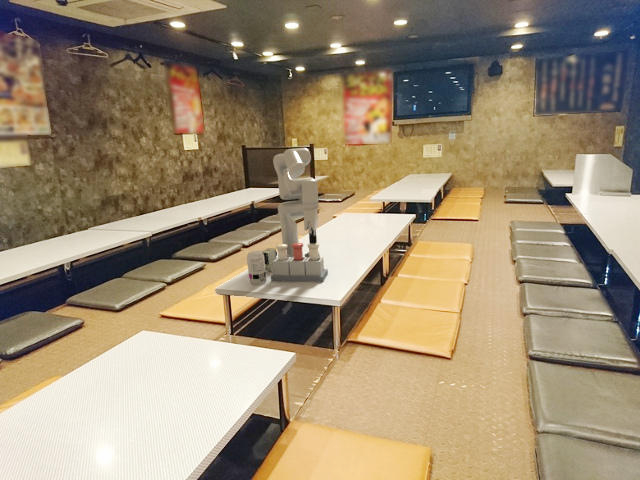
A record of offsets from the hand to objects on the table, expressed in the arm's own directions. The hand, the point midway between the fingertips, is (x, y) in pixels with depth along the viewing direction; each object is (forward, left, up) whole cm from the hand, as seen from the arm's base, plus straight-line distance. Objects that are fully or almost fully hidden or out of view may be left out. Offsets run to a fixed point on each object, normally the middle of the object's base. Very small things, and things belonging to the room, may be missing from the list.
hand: (313, 243), depth 203 cm
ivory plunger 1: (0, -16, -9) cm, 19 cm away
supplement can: (+8, -27, -18) cm, 33 cm away
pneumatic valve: (-11, -28, -18) cm, 35 cm away
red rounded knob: (0, -8, -9) cm, 12 cm away
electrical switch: (-18, -5, -18) cm, 26 cm away
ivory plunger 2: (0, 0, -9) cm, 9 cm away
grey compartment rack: (0, -8, -18) cm, 19 cm away
